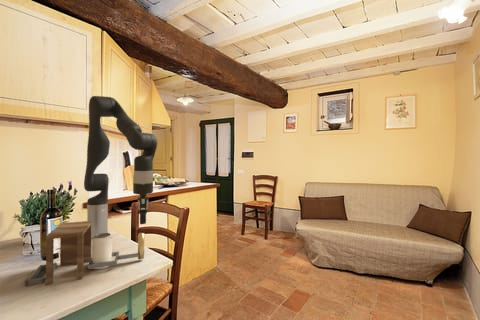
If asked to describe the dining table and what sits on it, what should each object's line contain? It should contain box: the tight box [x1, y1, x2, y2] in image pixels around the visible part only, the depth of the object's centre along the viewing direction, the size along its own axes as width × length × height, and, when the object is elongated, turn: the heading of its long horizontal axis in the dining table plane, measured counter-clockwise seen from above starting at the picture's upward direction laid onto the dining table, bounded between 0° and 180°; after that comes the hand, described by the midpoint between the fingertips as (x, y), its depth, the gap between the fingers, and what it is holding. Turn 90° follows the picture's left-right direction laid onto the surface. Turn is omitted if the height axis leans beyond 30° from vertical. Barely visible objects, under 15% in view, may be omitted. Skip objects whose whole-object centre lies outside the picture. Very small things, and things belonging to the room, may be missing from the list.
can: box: [92, 232, 113, 271], centre depth 88 cm, size 6×6×12 cm
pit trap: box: [24, 262, 58, 287], centre depth 80 cm, size 12×5×2 cm, turn 23°
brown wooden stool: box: [45, 220, 93, 285], centre depth 84 cm, size 16×10×16 cm, turn 23°
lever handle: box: [87, 232, 145, 270], centre depth 90 cm, size 9×19×10 cm, turn 113°
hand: (142, 220), depth 93 cm, fingers open, 8 cm apart
